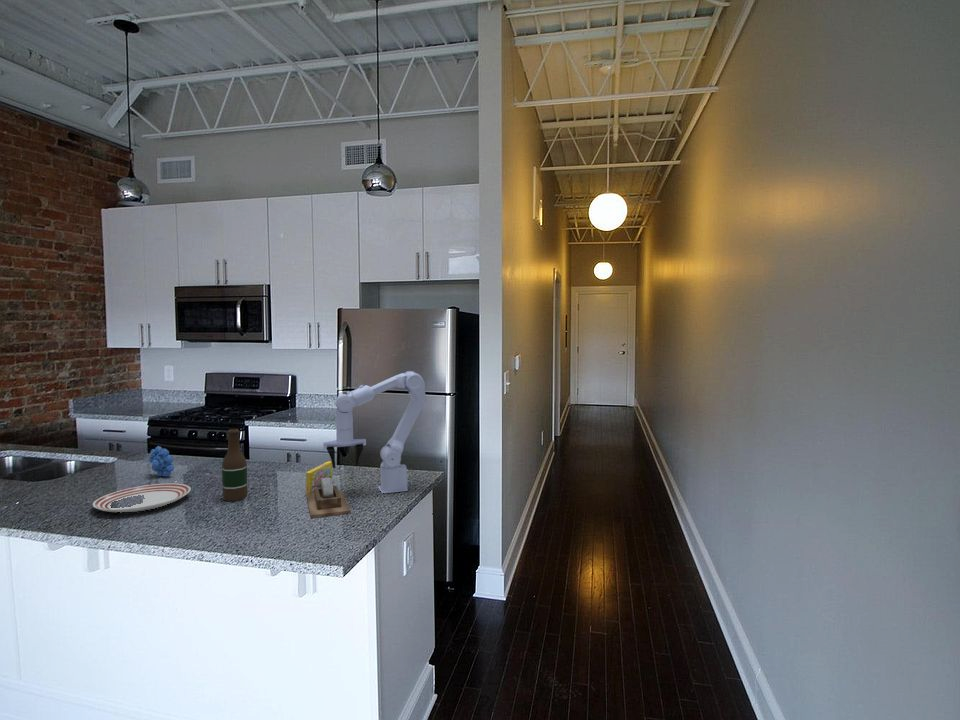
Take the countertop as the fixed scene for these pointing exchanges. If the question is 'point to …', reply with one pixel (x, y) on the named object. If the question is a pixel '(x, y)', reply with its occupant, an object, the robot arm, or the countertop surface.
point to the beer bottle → (234, 470)
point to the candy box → (317, 476)
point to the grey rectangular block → (327, 488)
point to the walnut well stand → (327, 503)
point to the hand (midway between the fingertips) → (345, 466)
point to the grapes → (161, 461)
